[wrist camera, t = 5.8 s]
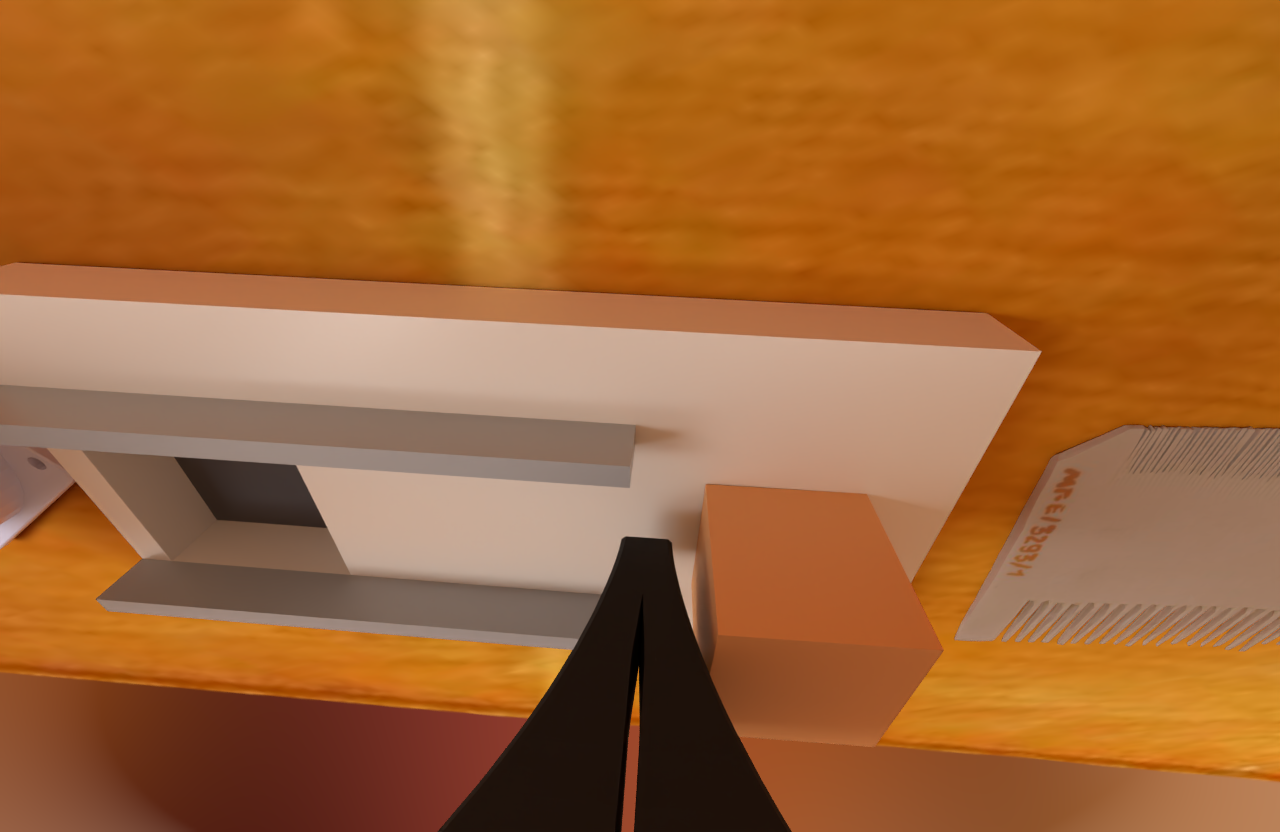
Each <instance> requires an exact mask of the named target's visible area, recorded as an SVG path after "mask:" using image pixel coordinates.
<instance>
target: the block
mask: <svg viewBox="0 0 1280 832" xmlns="http://www.w3.org/2000/svg"><path fill="white" fill-rule="evenodd" d="M691 588H692V614H693V632H694V635H695V637H696V640H697V643H698V646H699V648H700V651H701V653H702V656H703V659H704V661H705V664H706V666H707V669H708V671H709V674H710V676H711V678H712V681H713V683H714V685H715V688H716V690H717V692H718V694H719V697H720V699H721V701H722V703H723V705H724V708H725V710H726V712H727V714H728V716H729V718H730V720H731V722H732V724H733V726H734V728H735V731H736V733H737V734H738V736H739V737H749V738H763V739H777V740H789V741H802V742H816V743H828V744H842V745H855V746H869V747H875V746H876V744H877V743H878V741H879V740H880V739H881V737H882V736H883V734H884V733H885V732H886V730H887V729H888V727H889V726H890V725H891V723H892V722H893V720H894V719H895V718H896V716H897V715H898V713H899V712H900V711H901V709H902V708H903V707H904V705H905V704H906V702H907V701H908V700H909V698H910V697H911V695H912V694H913V693H914V691H915V690H916V688H917V687H918V686H919V684H920V683H921V681H922V680H923V679H924V677H925V676H926V675H927V673H928V672H929V670H930V669H931V668H932V666H933V665H934V663H935V662H936V661H937V659H938V658H939V656H940V655H941V654H942V652H943V651H944V650H943V648H942V646H941V644H940V642H939V640H938V638H937V636H936V634H935V632H934V630H933V628H932V626H931V624H930V622H929V620H928V618H927V615H926V613H925V611H924V609H923V607H922V605H921V603H920V601H919V599H918V597H917V595H916V593H915V591H914V589H913V587H912V585H911V583H910V581H909V579H908V577H907V575H906V573H905V571H904V569H903V567H902V565H901V562H900V560H899V558H898V556H897V554H896V552H895V550H894V548H893V546H892V544H891V542H890V540H889V538H888V536H887V534H886V532H885V530H884V528H883V526H882V524H881V522H880V520H879V518H878V516H877V514H876V511H875V509H874V507H873V505H872V503H871V501H870V499H869V497H868V495H867V494H860V493H843V492H827V491H810V490H793V489H776V488H759V487H742V486H726V485H709V484H705V491H704V498H703V505H702V512H701V520H700V527H699V534H698V541H697V548H696V555H695V562H694V569H693V576H692V583H691Z"/></svg>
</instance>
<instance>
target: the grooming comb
mask: <svg viewBox="0 0 1280 832" xmlns="http://www.w3.org/2000/svg"><path fill="white" fill-rule="evenodd" d="M1028 600H1029V601H1028ZM1027 602H1028V603H1027ZM1026 603H1027V604H1026ZM1025 604H1026V605H1025ZM1024 605H1025V607H1024V608H1023V606H1024ZM1102 605H1103V606H1102ZM1054 606H1055V607H1054ZM1101 606H1102V607H1101ZM1053 607H1054V608H1053ZM1100 607H1101V608H1100ZM1022 608H1023V610H1022V611H1021V613H1020V614H1019V615H1018V617H1017V618H1016V619H1015V620H1014V622H1013V623H1012V625H1011V626H1010V628H1009V629H1008V630H1007V632H1006V633H1005V635H1004V636H1003V638H1002V641H1005V642H1006V641H1007V640H1008V639H1009V638H1010V637H1011V636H1012V635H1014V633H1015V632H1016V631H1017V630H1018V629H1019V628H1020V627H1021V626H1022V625H1023V624H1024V623H1025V622H1026V621H1027V619H1028V618H1029V617H1030V616H1031V615H1032V614H1033V613H1034V611H1035V610H1036V609H1037V608H1038V609H1037V610H1036V612H1035V613H1034V614H1033V615H1032V617H1031V618H1030V619H1029V621H1028V622H1027V623H1026V625H1025V626H1024V628H1023V629H1022V631H1021V632H1020V634H1019V635H1018V636H1017V638H1016V639H1015V641H1016V642H1020V641H1021V640H1022V639H1023V638H1024V637H1025V636H1026V635H1027V634H1028V633H1029V632H1030V631H1031V630H1032V629H1033V628H1034V627H1035V626H1036V625H1037V624H1038V623H1039V622H1040V621H1041V620H1042V619H1043V618H1044V617H1045V616H1046V615H1047V614H1048V613H1049V612H1050V613H1049V614H1048V616H1047V617H1046V618H1045V619H1044V620H1043V622H1042V623H1041V624H1040V625H1039V627H1038V628H1037V629H1036V631H1035V632H1034V633H1033V635H1032V636H1031V637H1030V639H1029V640H1028V642H1034V641H1035V640H1036V639H1038V638H1039V637H1040V636H1041V635H1042V634H1043V633H1044V632H1045V631H1046V630H1047V629H1048V628H1049V627H1050V626H1051V625H1052V624H1053V623H1054V622H1055V621H1056V620H1057V619H1058V618H1059V617H1060V616H1061V615H1062V614H1063V613H1064V612H1065V613H1064V614H1063V615H1062V616H1061V618H1060V619H1059V620H1058V621H1057V622H1056V624H1055V625H1054V626H1053V627H1052V629H1051V630H1050V631H1049V632H1048V634H1047V635H1046V636H1045V638H1044V639H1043V640H1042V641H1041V642H1049V641H1050V640H1051V639H1052V638H1053V637H1055V636H1056V635H1057V634H1058V633H1059V632H1060V631H1061V630H1062V629H1063V628H1064V627H1065V626H1066V625H1067V624H1068V623H1069V622H1070V621H1072V620H1073V619H1074V617H1075V616H1076V615H1077V614H1078V613H1079V612H1080V611H1081V610H1082V611H1081V612H1080V613H1079V614H1078V615H1077V616H1076V618H1075V619H1074V620H1073V622H1072V623H1071V624H1070V625H1069V626H1068V627H1067V628H1066V630H1065V632H1064V633H1063V634H1062V635H1061V637H1060V638H1059V639H1058V641H1057V644H1061V645H1063V644H1064V643H1066V642H1067V641H1068V640H1069V639H1070V638H1071V637H1072V636H1073V635H1074V634H1075V633H1076V632H1077V631H1078V630H1079V629H1080V628H1081V627H1082V626H1083V625H1084V624H1085V623H1086V622H1087V621H1088V620H1089V619H1090V618H1091V617H1092V618H1091V619H1090V620H1089V621H1088V622H1087V624H1086V625H1085V626H1084V627H1083V628H1082V629H1081V630H1080V632H1079V633H1078V634H1077V635H1076V636H1075V637H1074V639H1073V640H1072V642H1071V643H1077V642H1078V641H1079V640H1080V639H1081V638H1083V637H1084V636H1085V635H1086V634H1087V633H1089V632H1090V631H1091V630H1092V629H1093V628H1094V627H1096V626H1097V625H1098V624H1099V623H1100V622H1101V621H1102V620H1104V619H1105V618H1106V617H1107V616H1108V615H1109V614H1110V613H1111V614H1110V615H1109V616H1108V617H1107V618H1106V619H1105V620H1104V621H1103V622H1102V623H1101V625H1100V626H1099V627H1098V628H1097V629H1096V630H1095V631H1094V632H1093V633H1092V635H1091V636H1090V637H1089V638H1088V639H1087V640H1086V642H1085V644H1090V643H1091V642H1092V641H1094V640H1095V639H1096V638H1098V637H1099V636H1100V635H1102V634H1103V633H1104V632H1105V631H1106V630H1108V629H1109V628H1110V627H1111V626H1112V625H1113V624H1115V623H1116V622H1117V621H1118V620H1119V619H1120V618H1122V617H1123V618H1122V619H1121V620H1120V621H1119V622H1118V623H1117V624H1116V625H1115V626H1114V627H1113V628H1112V630H1111V631H1110V632H1109V633H1108V634H1107V635H1106V636H1105V637H1104V638H1103V639H1102V640H1101V641H1100V642H1099V643H1100V644H1105V643H1106V642H1107V641H1109V640H1110V639H1111V638H1113V637H1114V636H1115V635H1116V634H1118V633H1119V632H1120V631H1122V630H1123V629H1124V628H1125V627H1127V626H1128V625H1129V624H1130V623H1132V622H1133V621H1134V620H1135V619H1136V618H1137V617H1138V616H1139V615H1140V614H1141V613H1142V612H1143V611H1144V610H1145V609H1146V610H1145V611H1144V612H1143V613H1142V614H1141V615H1140V616H1139V617H1138V618H1137V619H1136V620H1135V621H1134V622H1133V623H1132V624H1131V625H1130V626H1129V627H1128V628H1127V629H1126V630H1125V632H1124V633H1123V634H1122V635H1121V636H1120V637H1119V638H1118V639H1117V640H1116V641H1115V642H1114V643H1113V644H1115V645H1116V644H1118V643H1119V642H1121V641H1122V640H1124V639H1125V638H1127V637H1128V636H1130V635H1131V634H1132V633H1133V632H1135V631H1136V630H1137V629H1138V628H1140V627H1141V626H1142V625H1144V624H1145V623H1146V622H1147V621H1149V620H1150V619H1151V618H1152V617H1153V616H1155V615H1156V614H1157V613H1158V612H1159V611H1160V610H1161V609H1162V610H1161V611H1160V612H1159V613H1158V614H1157V615H1156V616H1155V617H1154V618H1153V619H1152V620H1151V621H1150V622H1149V623H1148V624H1147V625H1146V626H1145V627H1143V628H1142V629H1141V630H1140V631H1139V632H1138V633H1137V634H1136V635H1135V636H1134V637H1133V638H1132V639H1131V640H1130V641H1129V642H1128V643H1127V644H1126V645H1125V646H1131V645H1132V644H1134V643H1135V642H1136V641H1138V640H1139V639H1140V638H1142V637H1143V636H1144V635H1145V634H1147V633H1148V632H1149V631H1151V630H1152V629H1153V628H1154V627H1156V626H1157V625H1158V624H1159V623H1160V622H1162V621H1163V620H1164V619H1165V618H1166V617H1168V616H1169V615H1170V614H1171V613H1172V612H1173V613H1172V614H1171V615H1170V616H1169V617H1168V618H1167V619H1166V620H1165V621H1164V622H1163V623H1162V624H1161V625H1160V626H1159V627H1158V628H1157V629H1156V630H1155V631H1153V632H1152V633H1151V634H1150V635H1149V636H1148V637H1147V638H1146V639H1145V640H1144V641H1143V645H1146V644H1147V643H1148V642H1150V641H1151V640H1153V639H1154V638H1156V637H1157V636H1158V635H1160V634H1161V633H1163V632H1164V631H1165V630H1167V629H1168V628H1170V627H1171V626H1172V625H1174V624H1175V623H1176V622H1178V621H1179V620H1181V619H1182V618H1183V617H1184V618H1183V619H1182V620H1181V621H1180V622H1179V623H1177V624H1176V625H1175V626H1174V627H1173V628H1172V629H1171V630H1170V631H1169V632H1168V633H1167V634H1166V635H1165V636H1164V637H1163V638H1162V639H1161V640H1159V641H1158V642H1157V643H1156V646H1158V645H1160V644H1162V643H1163V642H1165V641H1166V640H1168V639H1169V638H1171V637H1172V636H1174V635H1175V634H1176V633H1178V632H1179V631H1180V630H1182V629H1183V628H1184V627H1186V626H1187V625H1189V624H1190V623H1191V622H1193V621H1194V620H1195V619H1196V620H1195V621H1194V622H1193V623H1192V624H1191V625H1189V626H1188V627H1187V628H1186V629H1185V630H1184V631H1182V632H1181V633H1180V634H1179V635H1178V636H1177V637H1176V638H1175V639H1174V640H1173V641H1172V642H1171V644H1175V643H1178V642H1179V641H1181V640H1182V639H1184V638H1185V637H1187V636H1189V635H1190V634H1192V633H1193V632H1195V631H1196V630H1197V629H1199V628H1200V627H1202V626H1203V625H1205V624H1206V623H1207V622H1209V621H1210V620H1211V619H1212V620H1211V621H1210V622H1209V623H1208V624H1207V625H1206V626H1205V627H1204V628H1202V629H1201V630H1200V631H1199V632H1198V633H1197V634H1196V635H1195V636H1194V637H1193V638H1192V639H1191V640H1189V641H1188V642H1187V644H1188V646H1190V645H1191V644H1193V643H1194V642H1196V641H1197V640H1199V639H1201V638H1202V637H1204V636H1205V635H1206V634H1208V633H1209V632H1211V631H1212V630H1214V629H1215V628H1217V627H1218V626H1219V625H1221V624H1222V623H1224V622H1225V621H1226V620H1227V621H1226V622H1225V623H1224V624H1223V625H1222V626H1220V627H1219V628H1218V629H1217V630H1216V631H1215V632H1213V633H1212V634H1211V635H1210V636H1209V637H1208V638H1207V639H1206V640H1204V641H1203V642H1202V643H1201V647H1202V646H1203V645H1205V644H1206V643H1208V642H1209V641H1211V640H1213V639H1214V638H1216V637H1217V636H1219V635H1220V634H1222V633H1223V632H1225V631H1227V630H1228V629H1230V628H1231V627H1233V626H1234V625H1235V624H1237V623H1238V622H1240V621H1241V620H1242V619H1243V620H1242V621H1241V622H1240V623H1239V624H1237V625H1236V626H1235V627H1234V628H1233V629H1232V630H1230V631H1229V632H1228V633H1227V634H1226V635H1224V636H1223V637H1222V638H1221V639H1220V640H1219V641H1218V642H1217V643H1216V644H1214V645H1213V647H1215V646H1219V645H1222V644H1223V643H1225V642H1227V641H1228V640H1230V639H1231V638H1233V637H1234V636H1236V635H1237V634H1239V633H1240V632H1242V631H1243V630H1245V629H1246V628H1248V627H1249V626H1251V625H1252V624H1253V625H1252V626H1251V627H1250V628H1249V629H1248V630H1246V631H1245V632H1244V633H1242V634H1241V635H1240V636H1239V637H1238V638H1236V639H1235V640H1234V641H1233V642H1232V643H1231V644H1230V645H1229V646H1227V647H1226V648H1225V649H1226V650H1230V649H1232V648H1234V647H1235V646H1237V645H1239V644H1241V643H1242V642H1244V641H1245V640H1247V639H1248V638H1249V637H1251V636H1252V635H1254V634H1255V633H1257V632H1258V631H1260V630H1261V629H1263V628H1264V627H1266V626H1267V625H1268V626H1267V627H1266V628H1265V629H1264V630H1262V631H1261V632H1259V633H1258V634H1257V635H1256V636H1255V637H1254V638H1252V639H1251V640H1250V641H1249V642H1248V643H1247V644H1246V645H1245V646H1243V647H1242V648H1241V649H1240V650H1239V651H1246V650H1247V649H1249V648H1250V647H1252V646H1253V645H1255V644H1257V643H1258V642H1260V641H1261V640H1263V639H1265V638H1266V637H1267V636H1269V635H1270V634H1272V633H1273V632H1274V631H1276V630H1277V629H1279V628H1280V429H1277V428H1255V429H1254V428H1252V427H1251V426H1249V427H1246V428H1237V427H1233V428H1218V427H1215V428H1211V427H1191V428H1190V427H1181V426H1178V427H1165V426H1164V425H1163V426H1161V427H1156V426H1155V427H1152V426H1151V425H1150V426H1149V427H1148V428H1146V427H1144V426H1143V425H1124V426H1122V427H1119V428H1117V429H1115V430H1112V431H1110V432H1108V433H1105V434H1103V435H1101V436H1098V437H1096V438H1094V439H1091V440H1089V441H1087V442H1084V443H1082V444H1080V445H1077V446H1075V447H1072V448H1070V449H1068V450H1065V451H1063V452H1061V453H1058V454H1056V455H1054V456H1053V457H1052V458H1051V459H1050V461H1049V463H1048V465H1047V467H1046V469H1045V471H1044V473H1043V474H1042V476H1041V478H1040V480H1039V481H1038V483H1037V485H1036V487H1035V488H1034V490H1033V492H1032V494H1031V496H1030V497H1029V499H1028V501H1027V503H1026V505H1025V507H1024V508H1023V510H1022V512H1021V514H1020V516H1019V518H1018V520H1017V522H1016V524H1015V526H1014V528H1013V529H1012V531H1011V533H1010V535H1009V537H1008V539H1007V540H1006V542H1005V544H1004V546H1003V548H1002V550H1001V551H1000V553H999V555H998V557H997V559H996V561H995V563H994V565H993V567H992V569H991V571H990V572H989V574H988V576H987V578H986V579H985V581H984V583H983V585H982V587H981V588H980V590H979V592H978V594H977V597H976V599H975V600H974V602H973V603H972V605H971V606H970V608H969V610H968V612H967V614H966V615H965V617H964V619H963V621H962V622H961V624H960V626H959V628H958V631H957V633H956V636H955V638H954V639H955V640H964V641H992V640H994V639H995V638H996V637H997V636H998V635H999V634H1000V633H1001V632H1002V631H1003V630H1004V628H1005V627H1006V626H1007V625H1008V624H1009V623H1010V622H1011V621H1012V619H1013V618H1014V617H1015V616H1016V615H1017V614H1018V613H1019V611H1020V610H1021V609H1022ZM1052 608H1053V609H1052ZM1099 608H1100V609H1099ZM1051 609H1052V610H1051ZM1098 609H1099V610H1098ZM1050 610H1051V611H1050ZM1206 610H1207V611H1206ZM1200 615H1201V616H1200ZM1199 616H1200V617H1199ZM1198 617H1199V618H1198ZM1229 618H1230V619H1229ZM1228 619H1229V620H1228ZM1259 619H1260V620H1259ZM1256 621H1257V622H1256ZM1255 622H1256V623H1255ZM1271 622H1272V623H1271ZM1270 623H1271V624H1270ZM1279 636H1280V629H1279V630H1277V631H1276V632H1275V633H1274V634H1272V635H1271V636H1270V637H1268V638H1267V639H1266V640H1265V641H1263V642H1262V644H1266V643H1268V642H1270V641H1272V640H1274V639H1275V638H1277V637H1279ZM1277 645H1280V641H1279V642H1278V643H1277Z"/></svg>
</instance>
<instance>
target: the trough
mask: <svg viewBox="0 0 1280 832" xmlns="http://www.w3.org/2000/svg"><path fill="white" fill-rule="evenodd" d="M1041 352H1042V351H1040V350H1039V349H1037V348H1036V347H1035V346H1033V345H1032V344H1030V343H1029V342H1027V341H1026V340H1025V339H1023V338H1022V337H1020V336H1019V335H1017V334H1016V333H1015V332H1013V331H1012V330H1010V329H1009V328H1008V327H1006V326H1005V325H1003V324H1002V323H1000V322H999V321H998V320H996V319H995V318H993V317H992V316H990V315H989V314H988V313H975V312H956V311H936V310H917V309H898V308H879V307H860V306H840V305H821V304H802V303H783V302H763V301H744V300H725V299H706V298H686V297H667V296H648V295H629V294H610V293H590V292H571V291H552V290H533V289H513V288H494V287H475V286H456V285H437V284H417V283H398V282H379V281H360V280H340V279H321V278H302V277H283V276H263V275H244V274H225V273H206V272H187V271H167V270H148V269H129V268H110V267H90V266H71V265H52V264H33V263H12V264H8V265H4V266H0V445H11V446H26V447H40V448H47V449H48V450H49V451H50V453H51V454H52V455H53V456H54V457H55V458H56V459H57V461H58V462H59V463H60V464H61V465H62V466H63V468H64V469H65V470H66V471H67V472H68V473H69V474H70V476H71V477H72V478H73V479H74V480H75V481H76V482H77V484H78V485H79V486H80V487H81V488H82V489H83V491H84V492H85V493H86V494H87V495H88V496H89V497H90V499H91V500H92V501H93V502H94V503H95V504H96V506H97V507H98V508H99V509H100V510H101V511H102V512H103V514H104V515H105V516H106V517H107V518H108V519H109V520H110V522H111V523H112V524H113V525H114V526H115V527H116V529H117V530H118V531H119V532H120V533H121V534H122V535H123V537H124V538H125V539H126V540H127V541H128V542H129V543H130V545H131V546H132V547H133V548H134V549H135V550H136V552H137V553H138V554H139V555H140V556H141V557H142V558H143V559H142V560H141V561H139V562H138V563H137V564H136V565H135V566H134V567H132V568H131V569H130V570H129V571H128V572H127V573H125V574H124V575H123V576H122V577H121V578H120V579H118V580H117V581H116V582H115V583H114V584H113V585H112V586H110V587H109V588H108V589H107V590H106V591H105V592H103V593H102V594H101V595H100V596H99V597H98V598H96V600H97V601H98V602H99V603H100V604H101V605H102V606H103V607H104V608H105V609H106V610H107V611H113V612H125V613H137V614H149V615H161V616H173V617H185V618H197V619H209V620H221V621H233V622H245V623H258V624H270V625H282V626H294V627H306V628H318V629H330V630H342V631H354V632H366V633H378V634H390V635H402V636H414V637H426V638H438V639H450V640H462V641H474V642H486V643H498V644H510V645H522V646H534V647H546V648H558V649H570V650H573V649H574V647H575V645H576V643H577V641H578V639H579V638H580V636H581V634H582V632H583V630H584V628H585V627H586V625H587V623H588V621H589V619H590V617H591V615H592V613H593V611H594V609H595V607H596V605H597V603H598V601H599V599H600V596H601V594H602V592H603V590H604V588H605V586H606V583H607V581H608V578H609V576H610V574H611V571H612V569H613V566H614V563H615V560H616V557H617V554H618V551H619V548H620V543H621V539H622V538H624V537H626V536H630V537H644V538H658V539H668V540H669V541H671V542H672V550H673V557H674V564H675V569H676V574H677V578H678V582H679V586H680V590H681V594H682V597H683V601H684V604H685V607H686V610H687V613H688V617H689V620H690V623H691V626H692V629H693V614H692V588H691V583H692V576H693V569H694V562H695V555H696V548H697V541H698V534H699V527H700V520H701V512H702V505H703V498H704V491H705V484H709V485H726V486H742V487H759V488H776V489H793V490H810V491H827V492H843V493H860V494H867V495H868V497H869V499H870V501H871V503H872V505H873V507H874V509H875V511H876V514H877V516H878V518H879V520H880V522H881V524H882V526H883V528H884V530H885V532H886V534H887V536H888V538H889V540H890V542H891V544H892V546H893V548H894V550H895V552H896V554H897V556H898V558H899V560H900V562H901V565H902V567H903V569H904V571H905V573H906V575H907V577H908V579H909V581H910V583H911V582H912V580H913V578H914V576H915V575H916V573H917V571H918V569H919V568H920V566H921V564H922V562H923V561H924V559H925V557H926V555H927V553H928V552H929V550H930V548H931V546H932V545H933V543H934V541H935V539H936V538H937V536H938V534H939V532H940V531H941V529H942V527H943V525H944V523H945V522H946V520H947V518H948V516H949V515H950V513H951V511H952V509H953V508H954V506H955V504H956V502H957V500H958V499H959V497H960V495H961V493H962V492H963V490H964V488H965V486H966V485H967V483H968V481H969V479H970V478H971V476H972V474H973V472H974V470H975V469H976V467H977V465H978V463H979V462H980V460H981V458H982V456H983V455H984V453H985V451H986V449H987V447H988V446H989V444H990V442H991V440H992V439H993V437H994V435H995V433H996V432H997V430H998V428H999V426H1000V424H1001V423H1002V421H1003V419H1004V417H1005V416H1006V414H1007V412H1008V410H1009V409H1010V407H1011V405H1012V403H1013V402H1014V400H1015V398H1016V396H1017V394H1018V393H1019V391H1020V389H1021V387H1022V386H1023V384H1024V382H1025V380H1026V379H1027V377H1028V375H1029V373H1030V371H1031V370H1032V368H1033V366H1034V364H1035V363H1036V361H1037V359H1038V357H1039V356H1040V354H1041Z"/></svg>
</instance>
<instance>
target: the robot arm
mask: <svg viewBox="0 0 1280 832" xmlns="http://www.w3.org/2000/svg"><path fill="white" fill-rule="evenodd" d="M75 482H76V481H75V480H74V479H73V478H72V477H71V476H70V474H69V473H68V472H67V471H66V470H65V469H64V468H63V466H62V465H61V464H60V463H59V462H58V461H57V459H56V458H55V457H54V456H53V455H52V454H51V453H50V451H49V450H48V449H47V448H40V447H26V446H11V445H0V549H1V548H3V547H4V546H6V545H7V544H9V543H10V542H11V541H12V540H13V539H14V538H15V537H16V536H17V535H19V534H20V533H21V532H22V531H23V530H24V529H25V528H26V527H27V526H28V525H29V524H31V523H32V522H33V521H34V520H35V519H36V518H37V517H38V516H39V515H40V514H41V513H42V512H44V511H45V510H46V509H47V508H48V507H49V506H50V505H51V504H52V503H53V502H54V501H56V500H57V499H58V498H59V497H60V496H61V495H62V494H63V493H64V492H65V491H66V490H67V489H69V488H70V487H71V486H72V485H73V484H74V483H75ZM638 668H639V702H640V737H639V740H640V741H639V758H638V775H637V791H636V808H635V824H634V832H791V830H790V828H789V827H788V825H787V823H786V822H785V820H784V818H783V817H782V815H781V813H780V812H779V810H778V808H777V806H776V805H775V803H774V801H773V800H772V797H771V796H770V794H769V792H768V791H767V789H766V787H765V785H764V784H763V782H762V780H761V778H760V776H759V774H758V772H757V771H756V769H755V767H754V765H753V763H752V761H751V759H750V757H749V756H748V753H747V752H746V750H745V748H744V746H743V744H742V742H741V740H740V738H739V736H738V734H737V733H736V731H735V728H734V726H733V724H732V722H731V720H730V718H729V716H728V714H727V712H726V710H725V708H724V705H723V703H722V701H721V699H720V697H719V694H718V692H717V690H716V688H715V685H714V683H713V681H712V678H711V676H710V674H709V671H708V669H707V666H706V664H705V661H704V659H703V656H702V653H701V651H700V648H699V646H698V643H697V640H696V637H695V635H694V632H693V629H692V626H691V623H690V620H689V617H688V613H687V610H686V607H685V604H684V601H683V597H682V594H681V590H680V586H679V582H678V578H677V574H676V569H675V564H674V557H673V550H672V542H671V541H669V540H668V539H658V538H644V537H630V536H626V537H624V538H622V539H621V543H620V548H619V551H618V554H617V557H616V560H615V563H614V566H613V569H612V571H611V574H610V576H609V578H608V581H607V583H606V586H605V588H604V590H603V592H602V594H601V596H600V599H599V601H598V603H597V605H596V607H595V609H594V611H593V613H592V615H591V617H590V619H589V621H588V623H587V625H586V627H585V628H584V630H583V632H582V634H581V636H580V638H579V639H578V641H577V643H576V645H575V647H574V649H573V650H572V652H571V654H570V655H569V657H568V659H567V660H566V662H565V664H564V665H563V667H562V669H561V670H560V672H559V673H558V675H557V677H556V678H555V680H554V681H553V683H552V684H551V686H550V688H549V689H548V691H547V692H546V693H545V695H544V696H543V698H542V699H541V701H540V702H539V704H538V705H537V707H536V708H535V710H534V711H533V713H532V714H531V715H530V717H529V718H528V720H527V721H526V723H525V724H524V725H523V727H522V728H521V729H520V731H519V732H518V734H517V735H516V736H515V738H514V739H513V740H512V742H511V743H510V744H509V745H508V747H507V748H506V749H505V750H504V752H503V753H502V754H501V756H500V757H499V758H498V760H497V761H496V762H495V763H494V765H493V766H492V767H491V769H490V770H489V771H488V772H487V774H486V775H485V776H484V778H483V779H482V780H481V781H480V783H479V784H478V785H477V786H476V787H475V788H474V790H473V791H472V792H471V793H470V794H469V795H468V797H467V798H466V799H465V800H464V801H463V803H462V804H461V805H460V806H459V807H458V808H457V810H456V811H455V812H454V813H453V814H452V815H451V817H450V818H449V819H448V820H447V821H446V822H445V824H444V825H443V826H442V827H441V828H440V830H439V831H438V832H621V828H622V815H623V801H624V788H625V775H626V774H625V773H626V760H627V748H628V737H629V729H630V720H631V714H632V707H633V701H634V694H635V688H636V681H637V674H638Z"/></svg>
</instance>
